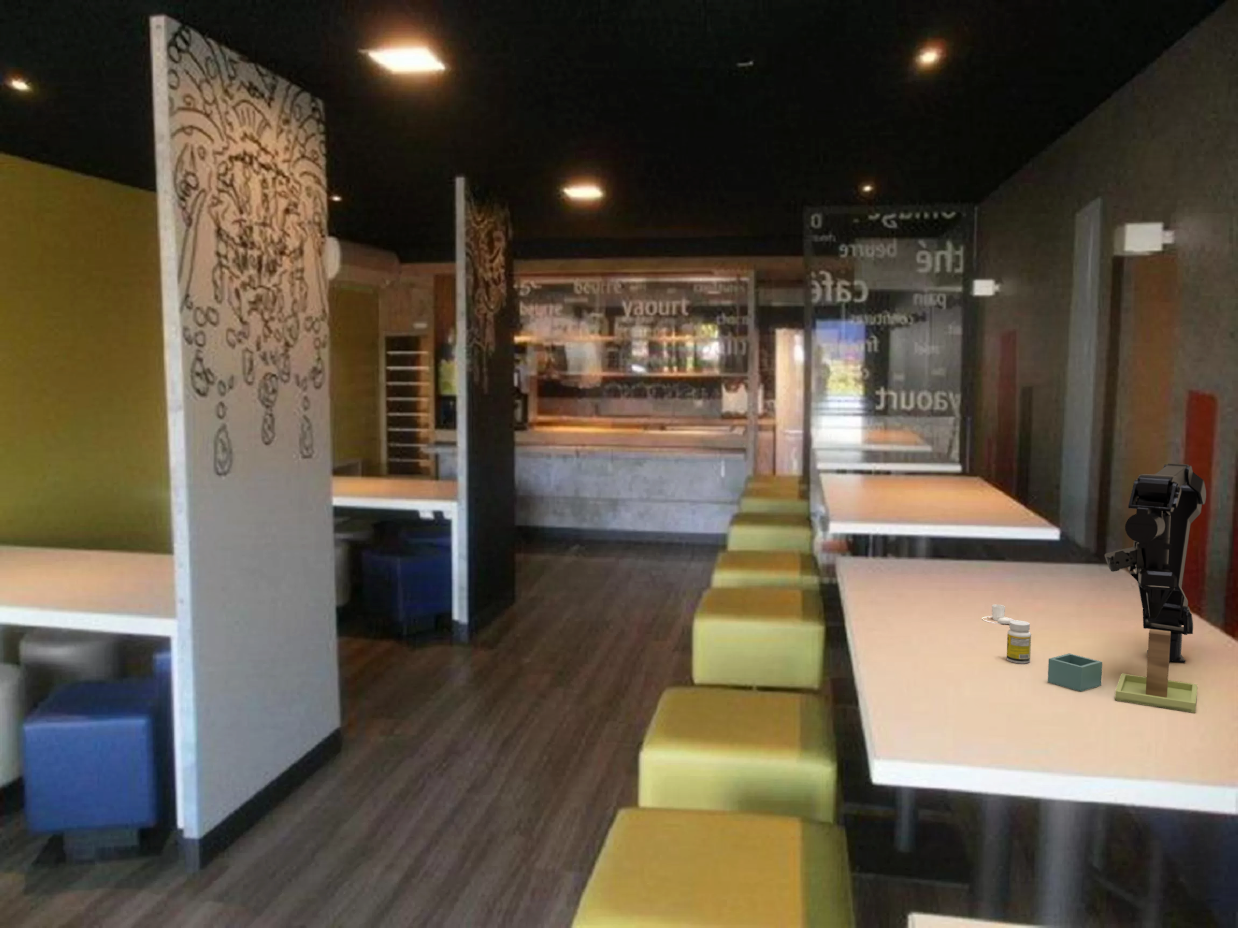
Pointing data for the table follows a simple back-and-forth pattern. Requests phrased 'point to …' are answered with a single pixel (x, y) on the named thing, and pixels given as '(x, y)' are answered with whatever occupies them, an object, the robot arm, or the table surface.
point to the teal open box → (1075, 672)
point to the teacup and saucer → (999, 615)
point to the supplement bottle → (1019, 642)
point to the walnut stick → (1158, 663)
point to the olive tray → (1177, 696)
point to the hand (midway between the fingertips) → (1149, 613)
